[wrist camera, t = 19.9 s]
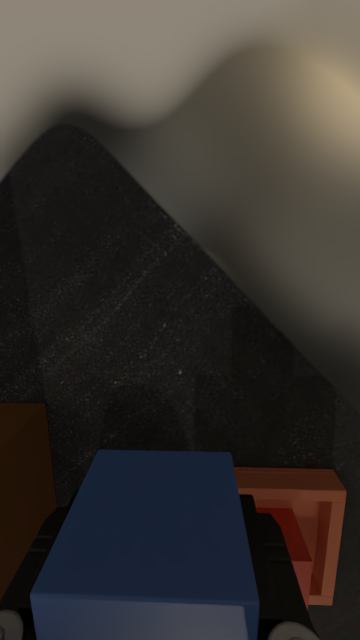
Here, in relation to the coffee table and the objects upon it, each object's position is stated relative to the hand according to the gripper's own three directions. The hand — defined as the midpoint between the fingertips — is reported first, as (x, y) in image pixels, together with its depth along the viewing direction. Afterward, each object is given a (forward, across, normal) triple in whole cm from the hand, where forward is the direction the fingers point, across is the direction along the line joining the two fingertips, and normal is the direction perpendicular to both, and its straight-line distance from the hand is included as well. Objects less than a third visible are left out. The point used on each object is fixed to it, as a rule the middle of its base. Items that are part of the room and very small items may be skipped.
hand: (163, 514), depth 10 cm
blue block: (0, 0, 0) cm, 0 cm away
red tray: (+14, -7, +14) cm, 21 cm away
